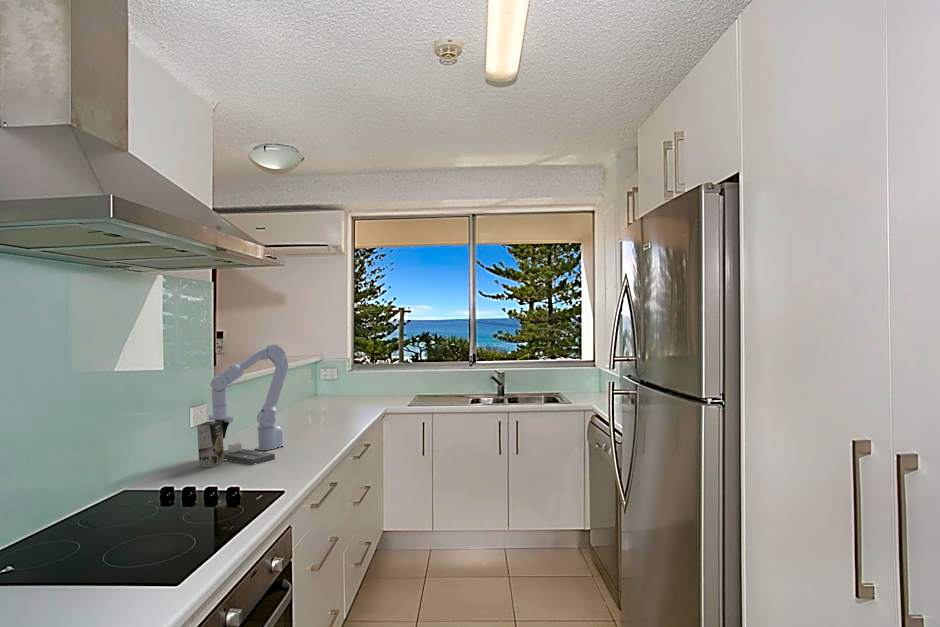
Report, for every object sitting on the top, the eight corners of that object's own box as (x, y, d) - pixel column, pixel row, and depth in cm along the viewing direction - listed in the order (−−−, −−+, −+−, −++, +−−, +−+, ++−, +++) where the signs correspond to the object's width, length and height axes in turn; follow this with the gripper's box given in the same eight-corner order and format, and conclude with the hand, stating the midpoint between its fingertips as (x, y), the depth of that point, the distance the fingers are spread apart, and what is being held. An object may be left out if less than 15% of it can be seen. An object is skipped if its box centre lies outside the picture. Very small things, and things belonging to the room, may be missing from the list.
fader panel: (236, 452, 269) (236, 447, 269) (274, 458, 254) (274, 453, 254) (214, 457, 261) (214, 452, 261) (252, 464, 246) (252, 459, 246)
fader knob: (237, 449, 264) (237, 442, 264) (241, 450, 262) (241, 442, 262) (228, 451, 260) (228, 444, 260) (232, 452, 258) (232, 444, 258)
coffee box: (215, 467, 245) (213, 424, 245) (198, 468, 245) (196, 425, 245) (225, 461, 254) (222, 420, 254) (208, 462, 254) (206, 421, 254)
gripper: (201, 406, 267) (202, 439, 268) (221, 408, 259) (222, 442, 259) (216, 403, 273) (218, 435, 273) (236, 405, 264) (238, 438, 264)
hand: (221, 438), depth 266 cm, fingers closed
